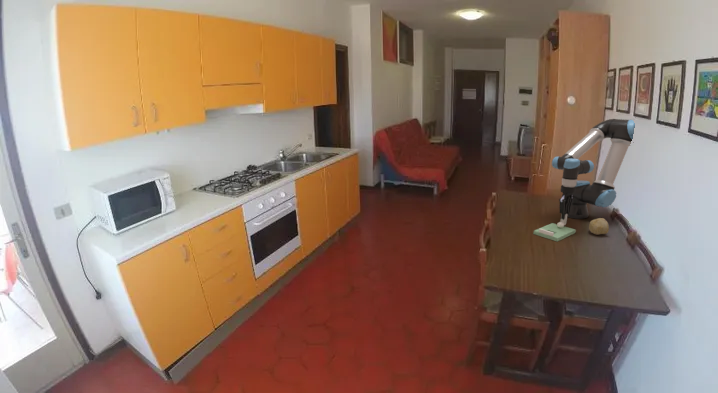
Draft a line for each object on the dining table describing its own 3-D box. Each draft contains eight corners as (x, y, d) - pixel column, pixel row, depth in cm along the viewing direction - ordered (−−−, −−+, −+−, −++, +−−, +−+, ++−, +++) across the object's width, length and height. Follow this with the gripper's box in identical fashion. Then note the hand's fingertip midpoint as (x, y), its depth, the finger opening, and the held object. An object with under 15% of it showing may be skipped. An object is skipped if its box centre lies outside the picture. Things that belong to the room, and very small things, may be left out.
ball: (558, 226, 217) (559, 220, 216) (564, 227, 214) (565, 222, 213) (555, 227, 215) (556, 221, 214) (561, 229, 212) (562, 223, 211)
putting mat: (551, 226, 223) (552, 219, 222) (575, 232, 212) (576, 226, 210) (533, 234, 212) (534, 227, 211) (557, 241, 201) (558, 234, 200)
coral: (617, 225, 203) (602, 219, 201) (606, 240, 206) (591, 234, 205) (606, 218, 211) (592, 212, 210) (596, 232, 215) (581, 226, 214)
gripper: (567, 182, 216) (562, 219, 222) (556, 186, 209) (550, 224, 215) (581, 185, 210) (575, 223, 216) (569, 188, 203) (563, 228, 209)
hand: (563, 223), depth 216 cm, fingers closed
